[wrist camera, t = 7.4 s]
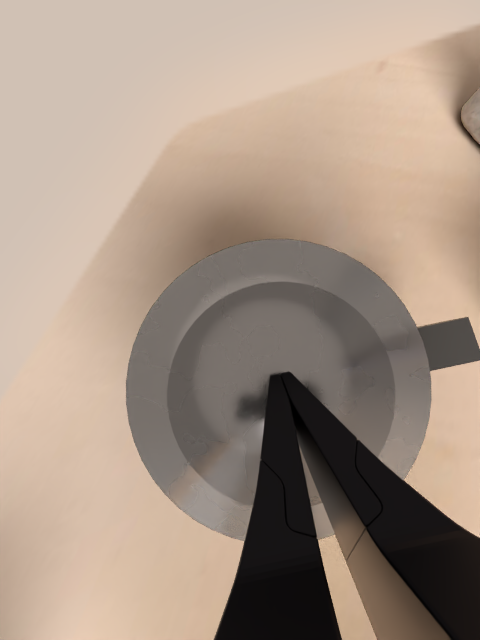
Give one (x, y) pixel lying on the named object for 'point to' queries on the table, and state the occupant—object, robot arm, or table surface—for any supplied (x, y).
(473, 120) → the decorative stone
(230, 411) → the cooker lid
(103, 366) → the table surface
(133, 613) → the table surface
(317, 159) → the table surface
